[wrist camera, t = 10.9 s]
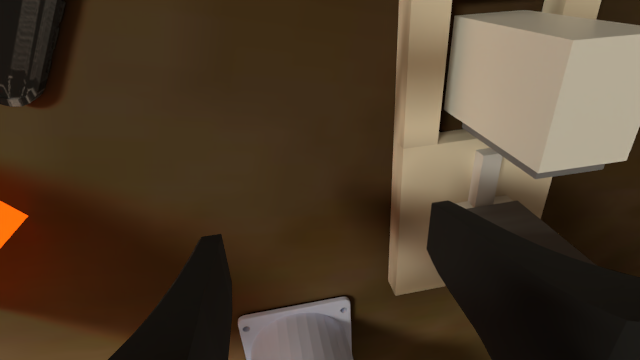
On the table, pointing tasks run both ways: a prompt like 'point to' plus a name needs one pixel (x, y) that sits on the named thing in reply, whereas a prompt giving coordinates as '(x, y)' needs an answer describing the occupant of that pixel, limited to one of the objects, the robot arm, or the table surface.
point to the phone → (27, 47)
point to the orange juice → (9, 221)
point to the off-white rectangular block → (546, 88)
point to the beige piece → (452, 153)
